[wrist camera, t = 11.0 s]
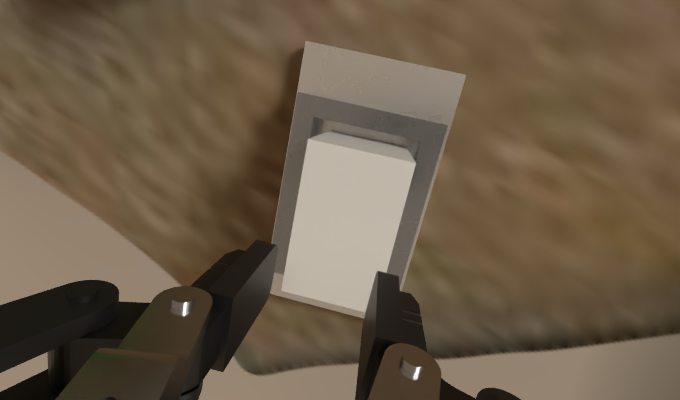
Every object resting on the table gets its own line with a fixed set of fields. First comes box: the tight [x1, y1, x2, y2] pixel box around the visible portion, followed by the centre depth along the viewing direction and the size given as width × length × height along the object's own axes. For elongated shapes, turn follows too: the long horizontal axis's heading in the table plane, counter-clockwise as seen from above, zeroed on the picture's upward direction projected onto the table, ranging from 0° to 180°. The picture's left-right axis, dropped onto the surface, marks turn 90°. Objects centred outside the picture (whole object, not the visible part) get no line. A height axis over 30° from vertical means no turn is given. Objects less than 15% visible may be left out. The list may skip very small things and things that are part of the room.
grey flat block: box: [270, 41, 466, 318], centre depth 23 cm, size 10×18×3 cm, turn 168°
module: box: [281, 130, 416, 312], centre depth 20 cm, size 5×8×7 cm, turn 168°
